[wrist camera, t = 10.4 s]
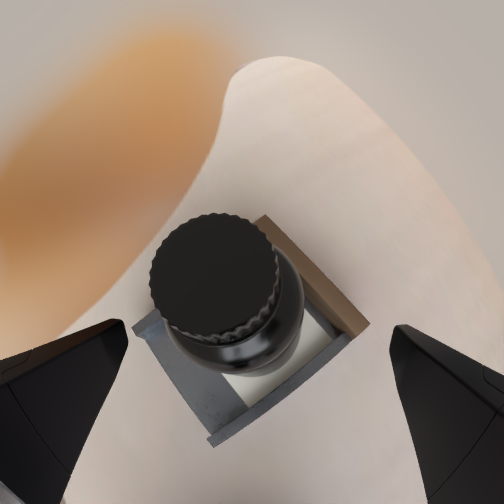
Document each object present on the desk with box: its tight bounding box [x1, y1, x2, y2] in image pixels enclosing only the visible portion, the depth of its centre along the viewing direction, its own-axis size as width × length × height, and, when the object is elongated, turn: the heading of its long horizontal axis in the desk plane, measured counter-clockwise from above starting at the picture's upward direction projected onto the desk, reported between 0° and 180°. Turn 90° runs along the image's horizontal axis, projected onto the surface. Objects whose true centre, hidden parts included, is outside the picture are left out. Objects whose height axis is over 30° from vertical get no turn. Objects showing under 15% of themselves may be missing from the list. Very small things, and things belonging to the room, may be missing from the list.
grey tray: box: [131, 214, 370, 448], centre depth 20 cm, size 13×11×4 cm
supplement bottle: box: [149, 213, 305, 377], centre depth 16 cm, size 7×7×12 cm
